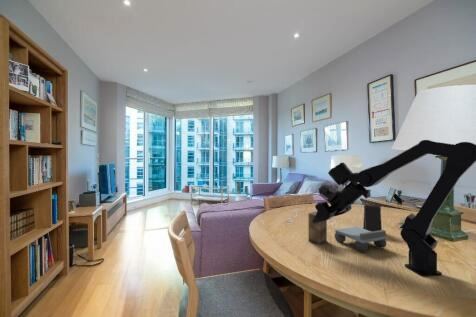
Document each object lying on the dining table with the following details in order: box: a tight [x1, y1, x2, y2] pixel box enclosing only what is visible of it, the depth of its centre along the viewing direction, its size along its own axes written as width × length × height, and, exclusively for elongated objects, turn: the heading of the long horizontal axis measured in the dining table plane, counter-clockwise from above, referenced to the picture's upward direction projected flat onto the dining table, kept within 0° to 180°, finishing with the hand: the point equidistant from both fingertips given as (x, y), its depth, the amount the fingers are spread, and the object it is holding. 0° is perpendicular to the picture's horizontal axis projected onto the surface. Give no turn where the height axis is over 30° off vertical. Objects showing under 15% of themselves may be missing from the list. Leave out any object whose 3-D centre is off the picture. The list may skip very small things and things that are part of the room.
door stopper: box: [362, 204, 383, 232], centre depth 107 cm, size 9×6×12 cm, turn 160°
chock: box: [308, 211, 328, 246], centre depth 97 cm, size 5×5×11 cm
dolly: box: [334, 226, 387, 253], centre depth 93 cm, size 14×11×6 cm
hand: (319, 219), depth 96 cm, fingers open, 9 cm apart
